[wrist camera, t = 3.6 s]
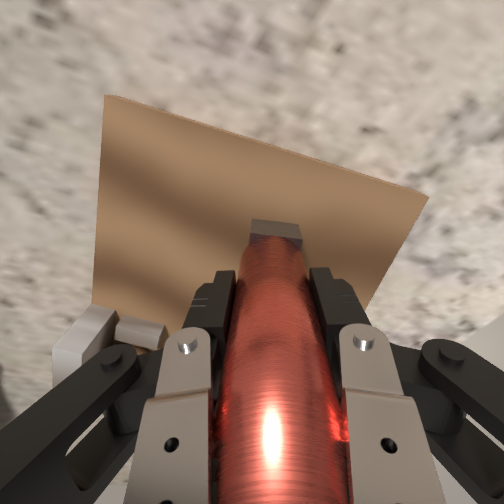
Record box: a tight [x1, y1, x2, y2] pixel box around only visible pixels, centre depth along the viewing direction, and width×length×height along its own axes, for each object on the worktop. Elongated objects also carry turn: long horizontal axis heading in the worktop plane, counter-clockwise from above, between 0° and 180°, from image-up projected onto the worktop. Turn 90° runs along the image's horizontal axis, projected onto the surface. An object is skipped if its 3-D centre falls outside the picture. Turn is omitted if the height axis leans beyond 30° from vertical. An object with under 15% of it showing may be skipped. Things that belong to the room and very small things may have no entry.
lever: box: [212, 218, 349, 504], centre depth 13 cm, size 17×5×12 cm, turn 174°
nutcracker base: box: [52, 94, 429, 388], centre depth 18 cm, size 22×17×5 cm
